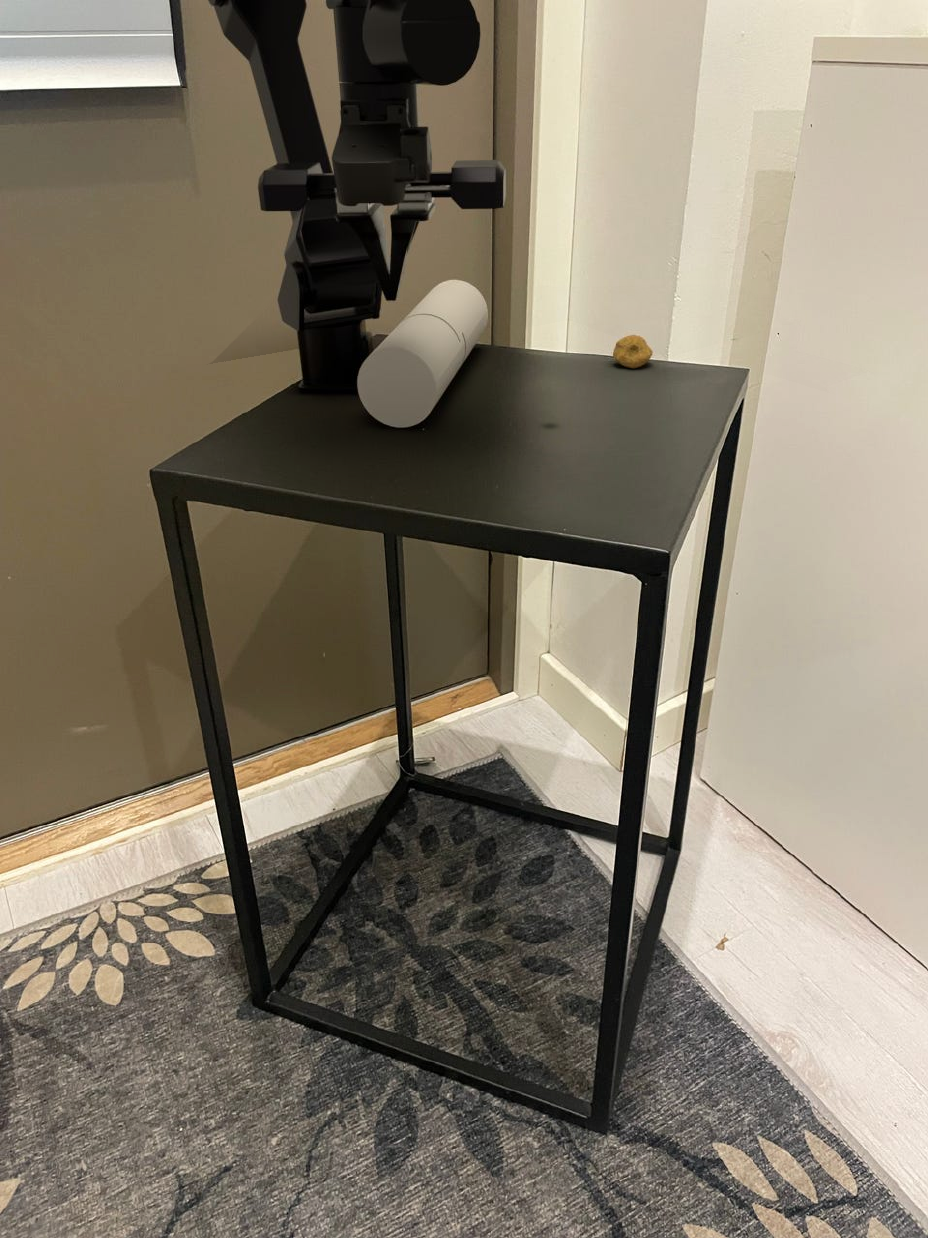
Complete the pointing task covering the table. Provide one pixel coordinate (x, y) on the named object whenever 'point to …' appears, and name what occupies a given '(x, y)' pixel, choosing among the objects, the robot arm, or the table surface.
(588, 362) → the table surface
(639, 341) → the tan lumpy rounded lump
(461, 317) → the cylindrical container
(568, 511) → the table surface
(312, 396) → the table surface
